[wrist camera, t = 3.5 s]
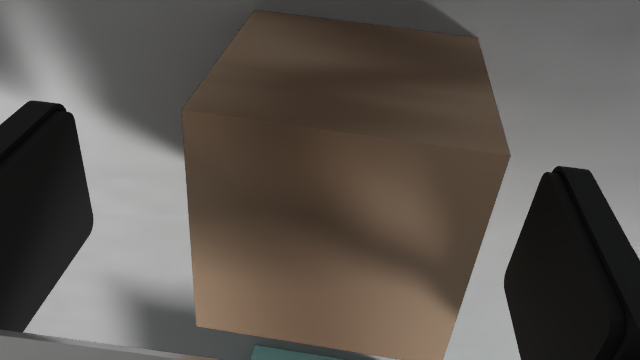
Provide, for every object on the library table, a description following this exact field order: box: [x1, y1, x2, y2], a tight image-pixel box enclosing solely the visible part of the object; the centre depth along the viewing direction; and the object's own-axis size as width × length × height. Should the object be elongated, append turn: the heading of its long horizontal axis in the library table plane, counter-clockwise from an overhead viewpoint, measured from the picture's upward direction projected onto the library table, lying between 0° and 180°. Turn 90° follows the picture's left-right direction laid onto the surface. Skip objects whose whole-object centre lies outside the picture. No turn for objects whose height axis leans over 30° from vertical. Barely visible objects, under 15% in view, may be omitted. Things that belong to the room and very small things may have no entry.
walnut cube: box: [181, 10, 511, 360], centre depth 12 cm, size 5×5×5 cm
